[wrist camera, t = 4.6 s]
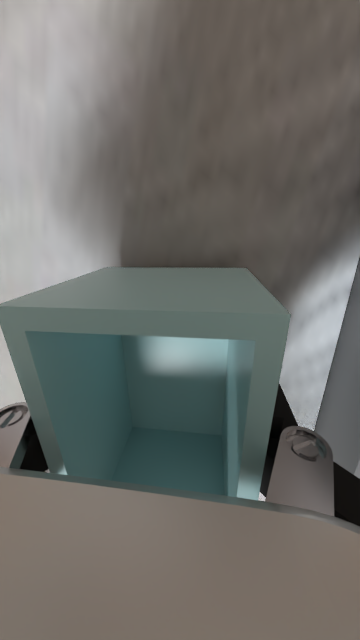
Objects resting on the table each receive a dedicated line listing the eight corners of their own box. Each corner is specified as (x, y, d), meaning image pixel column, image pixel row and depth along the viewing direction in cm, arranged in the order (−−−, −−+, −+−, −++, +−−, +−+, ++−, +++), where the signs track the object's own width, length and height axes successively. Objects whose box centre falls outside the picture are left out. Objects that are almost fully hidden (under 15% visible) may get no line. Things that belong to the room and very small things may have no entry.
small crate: (106, 267, 11) (-6, 306, 5) (246, 268, 10) (290, 314, 4) (127, 425, 14) (75, 547, 9) (230, 435, 14) (244, 576, 8)
